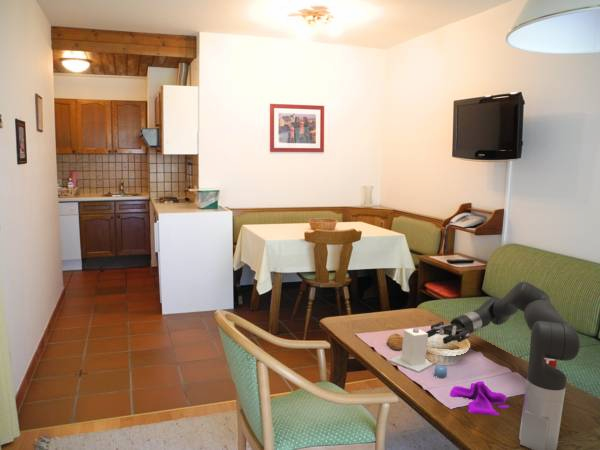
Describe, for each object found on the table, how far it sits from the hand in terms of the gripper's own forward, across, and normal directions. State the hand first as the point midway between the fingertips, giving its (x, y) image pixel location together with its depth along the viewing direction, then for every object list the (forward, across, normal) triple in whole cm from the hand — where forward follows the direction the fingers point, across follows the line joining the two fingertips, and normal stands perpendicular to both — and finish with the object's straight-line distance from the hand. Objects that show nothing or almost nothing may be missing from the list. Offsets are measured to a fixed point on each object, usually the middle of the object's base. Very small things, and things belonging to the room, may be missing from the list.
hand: (435, 337), depth 188 cm
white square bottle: (+10, -1, +6) cm, 12 cm away
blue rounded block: (+9, +11, +8) cm, 16 cm away
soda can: (-14, +33, +14) cm, 38 cm away
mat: (+10, -1, +6) cm, 12 cm away
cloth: (+9, +28, +10) cm, 31 cm away
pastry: (+6, -16, +6) cm, 18 cm away
